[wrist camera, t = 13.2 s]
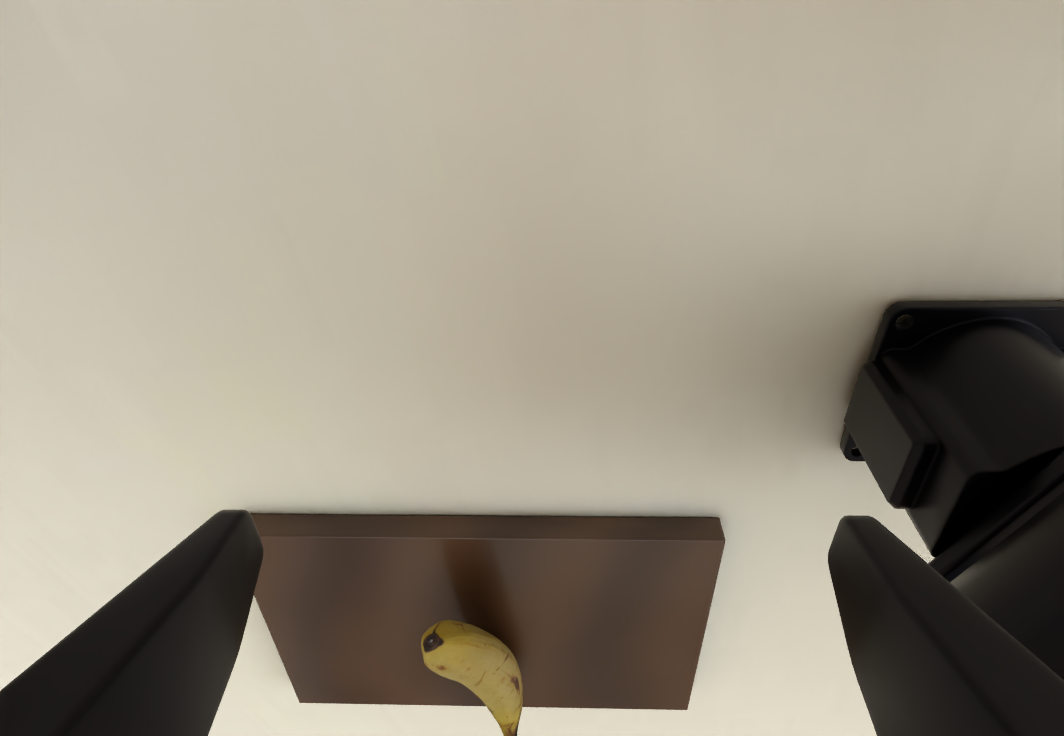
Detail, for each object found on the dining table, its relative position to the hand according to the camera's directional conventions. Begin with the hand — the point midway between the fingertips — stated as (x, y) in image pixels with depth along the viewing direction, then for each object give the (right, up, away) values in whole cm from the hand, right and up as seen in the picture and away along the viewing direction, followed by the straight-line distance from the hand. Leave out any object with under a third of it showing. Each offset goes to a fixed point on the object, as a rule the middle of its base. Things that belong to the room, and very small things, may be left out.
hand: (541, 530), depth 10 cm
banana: (-2, -9, +20) cm, 22 cm away
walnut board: (-2, -9, +21) cm, 23 cm away
